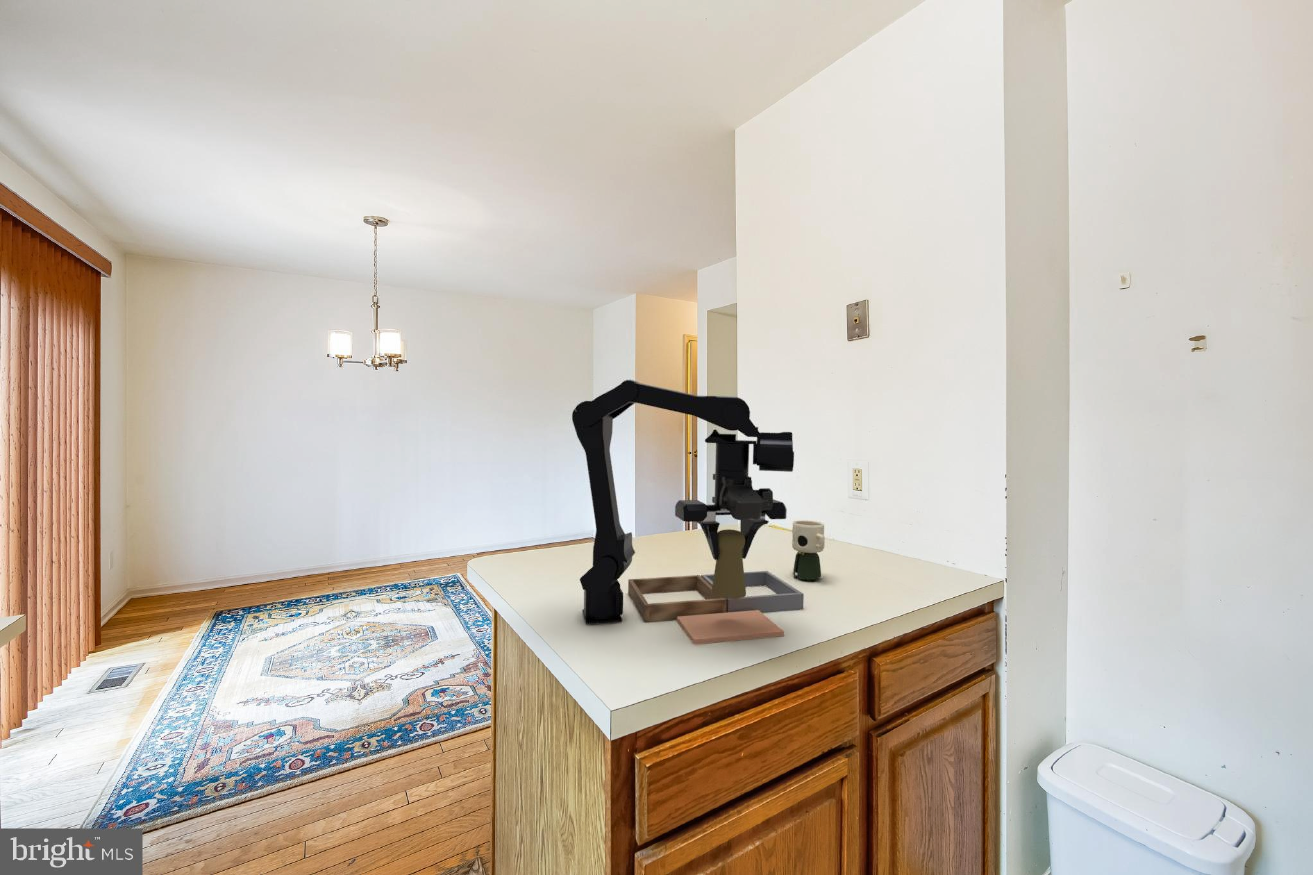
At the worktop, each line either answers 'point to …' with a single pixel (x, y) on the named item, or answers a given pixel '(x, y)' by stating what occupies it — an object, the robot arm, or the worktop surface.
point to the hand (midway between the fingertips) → (729, 558)
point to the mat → (728, 626)
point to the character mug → (807, 548)
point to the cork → (729, 566)
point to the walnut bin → (674, 609)
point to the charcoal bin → (764, 603)
